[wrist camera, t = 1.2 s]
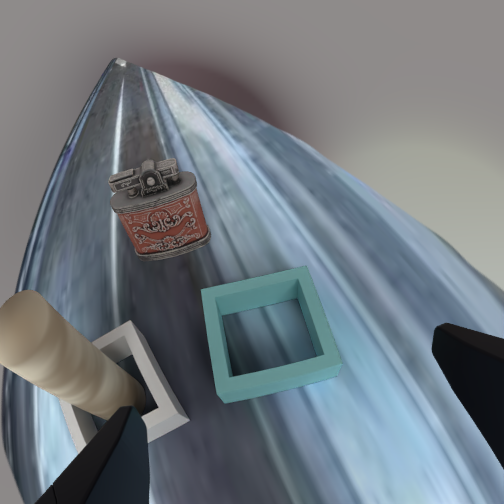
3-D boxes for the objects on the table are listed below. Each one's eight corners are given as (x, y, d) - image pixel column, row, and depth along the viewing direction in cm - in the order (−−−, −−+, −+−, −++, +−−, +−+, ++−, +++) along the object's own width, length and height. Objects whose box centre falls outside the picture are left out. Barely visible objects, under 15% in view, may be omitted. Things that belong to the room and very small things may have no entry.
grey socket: (190, 420, 21) (177, 412, 19) (101, 464, 19) (81, 460, 16) (144, 336, 26) (130, 319, 24) (68, 378, 24) (49, 366, 21)
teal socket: (336, 376, 22) (342, 363, 20) (224, 403, 22) (216, 394, 20) (305, 286, 28) (306, 265, 25) (208, 308, 27) (200, 289, 25)
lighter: (208, 223, 34) (187, 143, 26) (213, 246, 32) (190, 163, 24) (137, 242, 33) (101, 169, 26) (137, 266, 31) (97, 191, 23)
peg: (124, 435, 20) (8, 383, 10) (90, 402, 22) (-19, 331, 12) (156, 396, 22) (60, 318, 12) (120, 365, 24) (26, 277, 14)
